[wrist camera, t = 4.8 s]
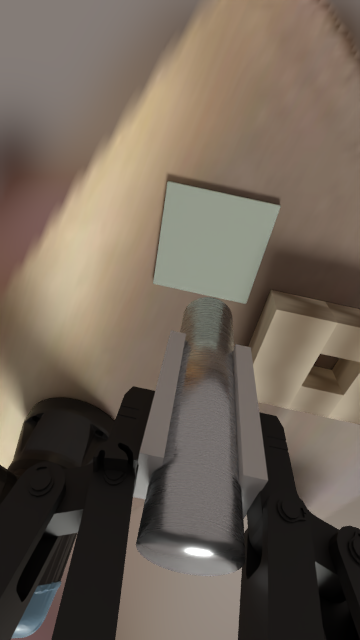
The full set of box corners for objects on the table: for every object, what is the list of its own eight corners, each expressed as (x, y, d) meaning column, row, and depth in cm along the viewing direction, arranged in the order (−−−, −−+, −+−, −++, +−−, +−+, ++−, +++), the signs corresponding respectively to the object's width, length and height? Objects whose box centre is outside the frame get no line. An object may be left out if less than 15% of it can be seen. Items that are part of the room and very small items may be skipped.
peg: (179, 333, 19) (132, 562, 9) (188, 292, 17) (141, 519, 7) (225, 342, 19) (229, 583, 9) (238, 303, 17) (260, 544, 7)
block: (237, 373, 37) (238, 397, 33) (270, 289, 30) (276, 309, 27) (363, 401, 37) (377, 428, 33) (423, 323, 30) (449, 347, 27)
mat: (153, 281, 31) (153, 283, 31) (168, 180, 26) (167, 181, 26) (245, 302, 31) (246, 304, 31) (279, 204, 26) (280, 206, 25)
